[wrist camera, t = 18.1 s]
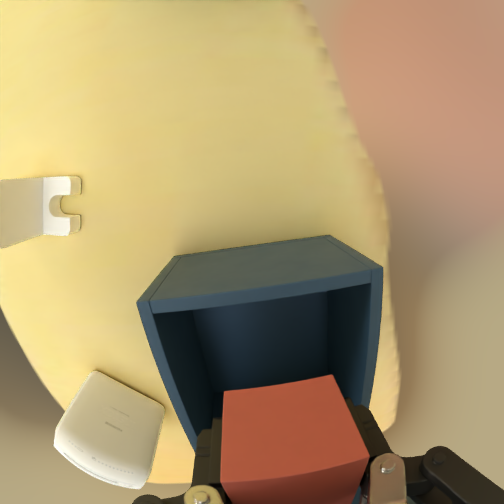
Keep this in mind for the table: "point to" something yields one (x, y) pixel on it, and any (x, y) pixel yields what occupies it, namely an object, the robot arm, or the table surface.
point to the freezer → (262, 322)
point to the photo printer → (110, 431)
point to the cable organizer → (36, 208)
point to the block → (291, 445)
